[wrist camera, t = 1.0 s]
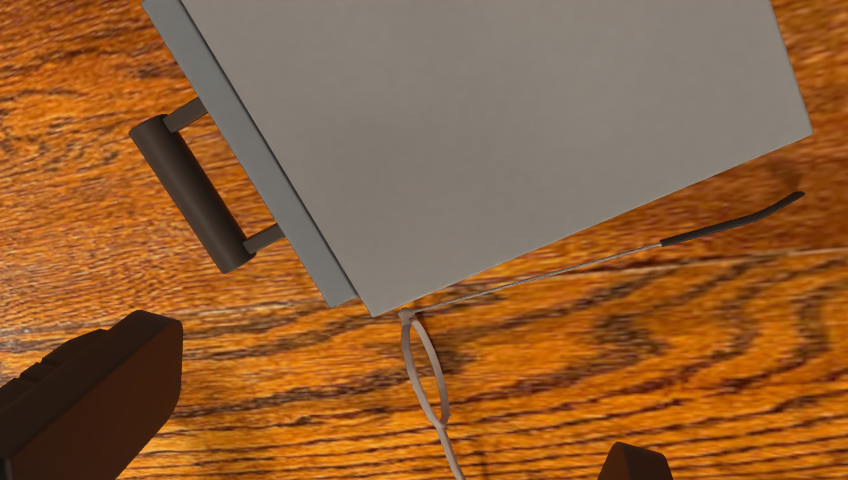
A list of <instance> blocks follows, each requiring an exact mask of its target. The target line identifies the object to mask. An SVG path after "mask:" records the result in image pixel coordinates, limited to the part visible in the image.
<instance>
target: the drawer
mask: <svg viewBox="0 0 848 480" xmlns="http://www.w3.org/2000/svg"><path fill="white" fill-rule="evenodd" d="M141 5H142V7H143V8H144V10H145V11H146V13H147V15H148V16H149V18H150V19H151V21H152V23H153V24H154V26H155V28H156V29H157V31H158V32H159V34H160V36H161V37H162V39H163V40H164V42H165V44H166V45H167V47H168V48H169V50H170V52H171V53H172V55H173V56H174V58H175V60H176V61H177V63H178V64H179V66H180V68H181V69H182V71H183V72H184V74H185V76H186V77H187V79H188V81H189V82H190V84H191V85H192V87H193V89H194V90H195V92H196V93H197V95H198V97H196V98H195V99H193V100H192V101H190V102H188V103H187V104H185V105H184V106H182V107H181V108H179V109H177V110H176V111H174V112H173V113H171V114H170V115H167V114H161V115H158V116H155V117H153V118H150V119H148V120H146V121H144V122H142V123H140V124H138V125H137V126H135V127H134V128H132V129H131V130H130V131H129V135H130V137H131V138H132V140H133V141H134V143H135V144H136V146H137V147H138V149H139V150H140V152H141V153H142V155H143V156H144V158H145V159H146V161H147V162H148V164H149V165H150V167H151V168H152V170H153V171H154V173H155V174H156V176H157V177H158V179H159V180H160V182H161V183H162V185H163V186H164V188H165V189H166V191H167V192H168V194H169V195H170V197H171V198H172V199H173V201H174V202H175V204H176V205H177V207H178V208H179V210H180V211H181V213H182V214H183V216H184V217H185V219H186V220H187V222H188V223H189V225H190V226H191V228H192V229H193V231H194V232H195V234H196V235H197V237H198V238H199V240H200V241H201V243H202V244H203V246H204V247H205V249H206V250H207V252H208V253H209V255H210V256H211V258H212V259H213V261H214V262H215V264H216V265H217V267H218V268H219V270H220V271H221V273H222V274H226V273H229V272H231V271H233V270H235V269H237V268H238V267H240V266H242V265H243V264H245V263H246V262H248V261H249V260H251V259H252V258H253V257H255V256H256V254H257V253H256V251H258V250H260V249H262V248H264V247H266V246H268V245H270V244H272V243H274V242H276V241H278V240H280V239H282V238H284V237H286V238H287V240H288V241H289V243H290V244H291V246H292V248H293V249H294V251H295V252H296V254H297V256H298V257H299V259H300V260H301V262H302V264H303V265H304V267H305V268H306V270H307V272H308V273H309V275H310V276H311V278H312V280H313V281H314V283H315V284H316V286H317V288H318V289H319V291H320V293H321V294H322V296H323V297H324V299H325V301H326V302H327V304H328V305H329V307H330V308H333V307H335V306H337V305H340V304H342V303H344V302H347V301H349V300H351V299H353V298H356V297H357V296H358V295H359V294H358V293H357V291H356V289H355V288H354V286H353V284H352V283H351V281H350V279H349V278H348V276H347V274H346V273H345V271H344V269H343V268H342V266H341V264H340V263H339V261H338V259H337V258H336V256H335V254H334V253H333V251H332V249H331V248H330V246H329V245H328V243H327V241H326V240H325V238H324V236H323V235H322V233H321V231H320V230H319V228H318V226H317V225H316V223H315V221H314V220H313V218H312V216H311V215H310V213H309V211H308V210H307V208H306V206H305V205H304V203H303V201H302V200H301V198H300V196H299V195H298V193H297V191H296V190H295V188H294V186H293V185H292V183H291V182H290V180H289V178H288V177H287V175H286V173H285V172H284V170H283V168H282V167H281V165H280V163H279V162H278V160H277V158H276V157H275V155H274V153H273V152H272V150H271V148H270V147H269V145H268V143H267V142H266V140H265V138H264V137H263V135H262V133H261V132H260V130H259V128H258V127H257V125H256V123H255V122H254V120H253V118H252V117H251V115H250V114H249V112H248V110H247V109H246V107H245V105H244V104H243V102H242V100H241V99H240V97H239V95H238V94H237V92H236V90H235V89H234V87H233V85H232V84H231V82H230V80H229V79H228V77H227V75H226V74H225V72H224V70H223V69H222V67H221V65H220V64H219V62H218V60H217V59H216V57H215V55H214V54H213V52H212V51H211V49H210V47H209V46H208V44H207V42H206V41H205V39H204V37H203V36H202V34H201V32H200V31H199V29H198V27H197V26H196V24H195V22H194V21H193V19H192V17H191V16H190V14H189V12H188V11H187V9H186V7H185V6H184V4H183V2H182V1H181V0H143V1H142V2H141ZM207 113H209V114H210V116H211V117H212V119H213V121H214V122H215V124H216V125H217V127H218V129H219V130H220V132H221V134H222V135H223V137H224V138H225V140H226V142H227V143H228V145H229V146H230V148H231V150H232V151H233V153H234V154H235V156H236V158H237V159H238V161H239V162H240V164H241V166H242V167H243V169H244V170H245V172H246V174H247V175H248V177H249V178H250V180H251V182H252V183H253V185H254V187H255V188H256V190H257V191H258V193H259V195H260V196H261V198H262V199H263V201H264V203H265V204H266V206H267V207H268V209H269V211H270V212H271V214H272V215H273V217H274V219H275V220H276V222H277V223H276V224H274V225H272V226H270V227H268V228H266V229H264V230H262V231H260V232H258V233H256V234H254V235H252V236H250V237H248V238H247V237H246V236H245V234H244V233H243V231H242V230H241V228H240V226H239V225H238V223H237V222H236V220H235V219H234V217H233V216H232V214H231V212H230V211H229V209H228V208H227V206H226V205H225V203H224V202H223V200H222V198H221V197H220V195H219V194H218V192H217V191H216V189H215V188H214V186H213V184H212V183H211V181H210V180H209V178H208V177H207V175H206V174H205V172H204V170H203V169H202V167H201V166H200V164H199V163H198V161H197V160H196V158H195V156H194V155H193V153H192V152H191V150H190V149H189V147H188V146H187V144H186V142H185V141H184V139H183V138H182V136H181V135H180V133H179V132H178V131H180V130H181V129H183V128H185V127H186V126H188V125H189V124H191V123H193V122H194V121H196V120H197V119H199V118H201V117H202V116H204V115H206V114H207Z"/></svg>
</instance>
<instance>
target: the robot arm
mask: <svg viewBox="0 0 848 480" xmlns="http://www.w3.org/2000/svg"><path fill="white" fill-rule="evenodd" d="M182 350H183V326H182V323H181V322H180V321H179V320H176V319H172V318H168V317H165V316H161V315H157V314H154V313H150V312H146V311H143V310H136V311H134V312H132V313H131V314H129V315H128V316H127V317H125V318H124V319H122V320H121V321H120V322H118V323H117V324H116V325H114V326H113V327H112V328H110V329H109V330H108V331H107V330H104V329H98V330H95V331H92V332H90V333H87V334H84V335H82V336H79V337H76V338H74V339H71V340H68V341H67V342H65V343H64V344H62V345H61V346H59V347H58V348H57V349H55V350H54V351H52V352H51V353H49V354H48V355H47V356H45V357H44V358H42V361H41V362H40V363H38V362H37V363H35V364H34V365H32V366H31V367H29V368H28V369H26V370H25V371H24V372H22V373H21V374H20V377H19V378H14V379H12V380H11V381H9V382H8V383H6V384H5V385H3V386H2V387H1V388H0V480H115V479H116V478H117V477H118V476H119V475H120V473H121V472H122V471H123V470H124V469H125V468H126V467H127V466H128V464H129V463H130V462H131V461H132V460H133V459H134V458H135V457H136V456H137V454H138V453H139V452H140V451H141V450H142V449H143V448H144V447H145V445H146V444H147V443H148V442H149V441H150V440H151V439H152V438H153V436H154V435H155V434H156V433H157V432H158V431H159V430H160V429H161V427H162V426H163V425H164V424H165V423H166V422H167V420H168V419H169V418H170V416H171V414H172V413H173V411H174V409H175V407H176V404H177V402H178V399H179V395H180V391H181V376H182ZM597 480H673V477H672V474H671V471H670V469H669V466H668V463H667V460H666V458H665V456H664V455H663V454H661V453H658V452H655V451H651V450H647V449H644V448H640V447H636V446H633V445H629V444H625V443H622V442H616V443H615V444H614V445H613V446H612V448H611V450H610V452H609V454H608V456H607V459H606V461H605V463H604V465H603V468H602V470H601V472H600V475H599V477H598V479H597Z"/></svg>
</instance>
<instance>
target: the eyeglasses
mask: <svg viewBox="0 0 848 480" xmlns="http://www.w3.org/2000/svg"><path fill="white" fill-rule="evenodd" d="M804 195H805V193H803V192H802V191H800V192H794V193H792V194H790V195H789V196H787V197H785V198H784V199H782V200H780V201H779V202H777V203H775V204H773V205H772V206H770V207H768V208H766V209H764V210H761V211H759V212H756V213H754V214H751V215H747V216H744V217H740V218H737V219H733V220H730V221H726V222H723V223H719V224H716V225H712V226H708V227H705V228H701V229H698V230H694V231H691V232H687V233H683V234H680V235H676V236H673V237H669V238H666V239H663V240H660V242H659V243H656V244H652V245H649V246H645V247H641V248H638V249H634V250H630V251H627V252H623V253H620V254H616V255H612V256H609V257H605V258H602V259H598V260H594V261H591V262H587V263H583V264H580V265H576V266H573V267H569V268H565V269H562V270H558V271H555V272H551V273H547V274H544V275H540V276H536V277H533V278H529V279H526V280H522V281H518V282H515V283H511V284H507V285H504V286H500V287H497V288H493V289H489V290H486V291H482V292H479V293H475V294H471V295H468V296H464V297H460V298H457V299H453V300H450V301H446V302H442V303H439V304H435V305H432V306H428V307H424V308H421V309H417V310H414V308H412V309H409V308H406V307H405V308H402V309H401V311H399V312H398V314H399V317H400V318H402V323H401V326H402V331H401V343H402V351H403V356H404V360H405V364H406V368H407V372H408V375H409V378H410V380H411V383H412V386H413V388H414V390H415V393H416V395H417V397H418V400H419V402H420V404H421V406H422V409H423V411H424V412H425V414H426V416H427V418H428V419H429V421H430V422H431V423H432V424H433V425H434V426H435V427H436V430H437V432H438V435H439V438H440V440H441V443H442V446H443V449H444V451H445V454H446V457H447V459H448V462H449V465H450V467H451V470H452V472H453V474H454V476H455V478H456V480H466V479H465V477H464V474H463V472H462V470H461V468H460V466H459V464H458V462H457V459H456V457H455V454H454V451H453V448H452V446H451V443H450V440H449V437H448V435H447V432H446V429H445V426H446V424H447V422H448V419H449V416H451V413H449V401H448V395H447V389H446V385H445V381H444V377H443V374H442V370H441V367H440V364H439V361H438V358H437V356H436V353H435V351H434V348H433V346H432V344H431V342H430V340H429V338H428V336H427V334H426V332H425V330H424V328H423V327H422V325H421V324H420V322H419V321H418V320H417V319H415V318H411V319H410V317H411V316H412V315H414V314H415V313H416V312H420V311H424V310H427V309H431V308H435V307H438V306H442V305H446V304H449V303H453V302H456V301H460V300H464V299H467V298H471V297H475V296H478V295H482V294H486V293H489V292H493V291H496V290H500V289H504V288H507V287H511V286H515V285H518V284H522V283H526V282H529V281H533V280H536V279H540V278H544V277H547V276H551V275H555V274H558V273H562V272H566V271H569V270H573V269H576V268H580V267H584V266H587V265H591V264H595V263H598V262H602V261H605V260H609V259H613V258H616V257H620V256H624V255H627V254H631V253H635V252H638V251H642V250H645V249H649V248H653V247H656V246H660V245H661V246H662V247H664V246H668V245H672V244H676V243H680V242H683V241H687V240H691V239H694V238H698V237H702V236H705V235H709V234H713V233H716V232H720V231H724V230H727V229H731V228H734V227H738V226H742V225H745V224H748V223H752V222H755V221H758V220H760V219H763V218H765V217H767V216H769V215H771V214H773V213H774V212H776V211H778V210H780V209H781V208H783V207H785V206H787V205H788V204H790V203H792V202H794V201H795V200H797V199H799V198H800V197H802V196H804ZM411 324H412V325H413V327H414V328H415V330H416V331H417V333H418V334H419V336H420V338H421V340H422V342H423V344H424V346H425V349H426V351H427V353H428V355H429V358H430V361H431V363H432V366H433V369H434V373H435V376H436V380H437V384H438V388H439V393H440V398H441V408H442V413H441V419H440V420H439V419H438V418H437V417H436V415H435V414H434V412H433V410H432V408H431V406H430V404H429V402H428V400H427V397H426V395H425V393H424V390H423V388H422V386H421V383H420V381H419V378H418V375H417V372H416V369H415V365H414V361H413V357H412V353H411V347H410V327H411Z"/></svg>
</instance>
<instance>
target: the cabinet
mask: <svg viewBox="0 0 848 480" xmlns="http://www.w3.org/2000/svg"><path fill="white" fill-rule="evenodd" d="M181 1H182V2H183V4H184V6H185V7H186V9H187V11H188V12H189V14H190V16H191V17H192V19H193V21H194V22H195V24H196V26H197V27H198V29H199V31H200V32H201V34H202V36H203V37H204V39H205V41H206V42H207V44H208V46H209V47H210V49H211V51H212V52H213V54H214V55H215V57H216V59H217V60H218V62H219V64H220V65H221V67H222V69H223V70H224V72H225V74H226V75H227V77H228V79H229V80H230V82H231V84H232V85H233V87H234V89H235V90H236V92H237V94H238V95H239V97H240V99H241V100H242V102H243V104H244V105H245V107H246V109H247V110H248V112H249V114H250V115H251V117H252V118H253V120H254V122H255V123H256V125H257V127H258V128H259V130H260V132H261V133H262V135H263V137H264V138H265V140H266V142H267V143H268V145H269V147H270V148H271V150H272V152H273V153H274V155H275V157H276V158H277V160H278V162H279V163H280V165H281V167H282V168H283V170H284V172H285V173H286V175H287V177H288V178H289V180H290V182H291V183H292V185H293V186H294V188H295V190H296V191H297V193H298V195H299V196H300V198H301V200H302V201H303V203H304V205H305V206H306V208H307V210H308V211H309V213H310V215H311V216H312V218H313V220H314V221H315V223H316V225H317V226H318V228H319V230H320V231H321V233H322V235H323V236H324V238H325V240H326V241H327V243H328V245H329V246H330V248H331V249H332V251H333V253H334V254H335V256H336V258H337V259H338V261H339V263H340V264H341V266H342V268H343V269H344V271H345V273H346V274H347V276H348V278H349V279H350V281H351V283H352V284H353V286H354V288H355V289H356V291H357V293H358V294H359V296H360V298H361V299H362V301H363V303H364V304H365V306H366V308H367V309H368V311H369V313H370V314H371V316H372V317H376V316H378V315H380V314H383V313H385V312H388V311H390V310H392V309H395V308H397V307H400V306H402V305H404V304H407V303H409V302H412V301H414V300H416V299H419V298H421V297H424V296H426V295H428V294H431V293H433V292H436V291H438V290H440V289H443V288H445V287H448V286H450V285H452V284H455V283H457V282H460V281H462V280H464V279H467V278H469V277H472V276H474V275H476V274H479V273H481V272H484V271H486V270H488V269H491V268H493V267H496V266H498V265H500V264H503V263H505V262H508V261H510V260H512V259H515V258H517V257H520V256H522V255H524V254H527V253H529V252H532V251H534V250H536V249H539V248H541V247H544V246H546V245H548V244H551V243H553V242H555V241H558V240H560V239H563V238H565V237H567V236H570V235H572V234H575V233H577V232H579V231H582V230H584V229H587V228H589V227H591V226H594V225H596V224H599V223H601V222H603V221H606V220H608V219H611V218H613V217H615V216H618V215H620V214H623V213H625V212H627V211H630V210H632V209H635V208H637V207H639V206H642V205H644V204H647V203H649V202H651V201H654V200H656V199H659V198H661V197H663V196H666V195H668V194H671V193H673V192H675V191H678V190H680V189H683V188H685V187H687V186H690V185H692V184H695V183H697V182H699V181H702V180H704V179H707V178H709V177H711V176H714V175H716V174H719V173H721V172H723V171H726V170H728V169H731V168H733V167H735V166H738V165H740V164H743V163H745V162H747V161H750V160H752V159H755V158H757V157H759V156H762V155H764V154H767V153H769V152H771V151H774V150H776V149H779V148H781V147H783V146H786V145H788V144H791V143H793V142H795V141H798V140H800V139H803V138H805V137H807V136H810V135H812V134H813V128H812V125H811V122H810V119H809V116H808V113H807V110H806V107H805V104H804V101H803V98H802V95H801V92H800V89H799V86H798V83H797V80H796V77H795V74H794V71H793V68H792V65H791V62H790V59H789V56H788V53H787V50H786V47H785V44H784V41H783V38H782V35H781V32H780V29H779V26H778V23H777V20H776V17H775V14H774V11H773V8H772V5H771V2H770V0H181Z"/></svg>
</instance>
